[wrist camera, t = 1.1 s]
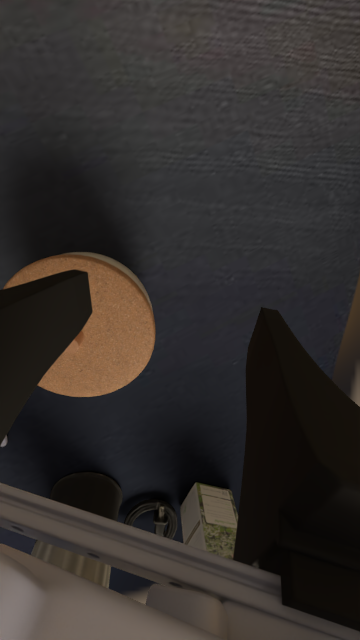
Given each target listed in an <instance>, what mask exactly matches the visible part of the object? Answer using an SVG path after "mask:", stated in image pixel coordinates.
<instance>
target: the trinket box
mask: <svg viewBox="0 0 360 640" xmlns="http://www.w3.org/2000/svg"><path fill="white" fill-rule="evenodd" d="M73 269H76V270H81V271H85V272H88V278H89V286H90V294H91V302H92V310H93V312H92V314H91V316H90V318H89V319H88V321H87V323H86V324H85V326H84V327H83V329H82V330H81V332H80V333H79V334H78V335H77V337H76V338H75V339H74V340H73V341H72V343H71V344H70V345H69V346H68V347H67V348H66V350H65V351H64V352H63V353H62V354H61V355H60V357H59V358H58V359H57V360H56V361H55V363H54V364H53V365H52V366H51V367H50V368H49V370H48V371H47V372H46V374H45V375H44V376H43V378H42V379H41V381H40V382H39V384H38V386H40V387H42V388H44V389H46V390H49V391H52V392H54V393H57V394H62V395H67V396H74V397H91V396H99V395H103V394H107V393H110V392H113V391H115V390H117V389H120V388H122V387H123V386H125V385H127V384H128V383H130V382H131V381H132V380H133V379H135V378H136V377H137V376H138V375H139V374H140V373H141V371H142V370H143V369H144V368H145V366H146V364H147V363H148V361H149V359H150V357H151V354H152V351H153V348H154V342H155V322H154V316H153V311H152V305H151V302H150V299H149V296H148V294H147V292H146V290H145V288H144V286H143V284H142V283H141V282H140V280H139V279H138V278H137V276H136V275H135V274H134V273H133V272H132V271H131V270H130V269H128V268H127V267H126V266H124V265H123V264H122V263H120V262H118V261H116V260H114V259H112V258H110V257H107V256H104V255H101V254H97V253H91V252H71V253H64V254H60V255H56V256H51V257H47V258H44V259H41V260H38V261H36V262H34V263H32V264H30V265H28V266H26V267H24V268H23V269H21V270H20V271H19V272H17V273H16V274H15V275H14V276H13V277H12V278H11V279H10V280H9V281H8V282H7V283H6V285H5V287H4V288H3V289H6V288H10V287H13V286H17V285H20V284H24V283H27V282H30V281H34V280H37V279H40V278H43V277H47V276H50V275H53V274H56V273H60V272H64V271H68V270H73Z"/></svg>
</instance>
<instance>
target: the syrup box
mask: <svg viewBox="0 0 360 640" xmlns="http://www.w3.org/2000/svg"><path fill="white" fill-rule="evenodd" d="M180 511H181V521H182V529H183V540H184V544H186V545H189V546H192V547H195V548H198V549H201V550H204V551H207V552H210V553H213V554H216V555H219V556H222V557H225V558H228V559H231V560H233V555H234V547H235V539H236V531H237V523H238V514H237V511H236V507H235V504H234V499H233V496H232V492H231V490H229V489H225V488H220V487H215V486H211V485H206V484H202V483H197V482H196V483H195V484H194V486H193V487H192V488H191V490H190V492H189V493H188V495H187V497H186V498H185V500H184V502H183V503H182V505H181V508H180Z"/></svg>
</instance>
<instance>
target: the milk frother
mask: <svg viewBox="0 0 360 640" xmlns="http://www.w3.org/2000/svg"><path fill="white" fill-rule="evenodd" d="M50 500H53V501H56V502H59V503H62V504H65V505H68V506H71V507H74V508H78V509H81V510H84V511H87V512H90V513H93V514H96V515H99V516H102V517H105V518H108V519H111V520H114V521H117V518H118V512H119V507H120V505H121V502H122V491H121V489H120V487H119V485H118V484H117V483H116V482H115V481H114V480H113V479H111V478H109V477H108V476H105V475H103V474H99V473H94V472H79V473H74V474H71V475H68V476H65V477H64V478H62V479H60V480H59V481H58V482H57V483H56V484H55V485H54V487H53V489H52V491H51V495H50ZM148 510H155V511H154V519H153V522H154V524H155V534H156V535H159V536H162V537H165V538H168V539H172V538H173V536H174V535H175V532H176V529H177V515H176V512H175V510H174V508H173V507H172V506H171V505H170V504H168V503H167V502H165V501H162V500H155V499H152V500H145V501H141V502H139V503H138V504H136V505H135V506H134V507H133V508H132V509H131V510H130V511H129V513H128V514H127V517H126V519H125V522H124V524H126V525H129V526H132V524H133V522H134V520H135V519H136V518H137V517H138V516H139V515H140V514H142V513H143V512H145V511H148ZM167 522H168V526H167V530H166V532H165V525H166V524H167ZM31 556H33V557H36V558H38V559H40V560H43V561H45V562H48V563H50V564H52V565H55V566H57V567H59V568H62V569H64V570H66V571H69V572H71V573H73V574H76V575H78V576H80V577H83V578H85V579H87V580H89V581H92V582H94V583H96V584H99V585H101V586H103V587H106V588H108V585H109V578H110V569H111V566H110V565H107V564H104V563H101V562H98V561H96V560H93V559H90V558H87V557H84V556H82V555H79V554H76V553H73V552H70V551H68V550H65V549H62V548H59V547H56V546H54V545H51V544H48V543H45V542H42V541H40V540H37V539H36V542H35V546H34V548H33V550H32V553H31Z"/></svg>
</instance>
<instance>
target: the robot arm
mask: <svg viewBox="0 0 360 640" xmlns="http://www.w3.org/2000/svg"><path fill="white" fill-rule="evenodd" d="M92 312H93V310H92V302H91V294H90V286H89V278H88V272H85V271H81V270H76V269H73V270H68V271H64V272H60V273H56V274H53V275H50V276H47V277H43V278H40V279H37V280H34V281H30V282H27V283H24V284H20V285H17V286H13V287H10V288H6V289H3V290H0V446H5V445H6V444H7V442H8V441H7V433H8V431H9V430H10V428H11V426H12V425H13V423H14V421H15V419H16V418H17V416H18V414H19V413H20V411H21V410H22V408H23V406H24V405H25V403H26V402H27V400H28V398H29V397H30V395H31V394H32V392H33V391H34V389H35V388H36V386H37V385H38V384H39V382H40V381H41V379H42V378H43V376H44V375H45V374H46V372H47V371H48V370H49V368H50V367H51V366H52V365H53V364H54V363H55V361H56V360H57V359H58V358H59V357H60V355H61V354H62V353H63V352H64V351H65V350H66V348H67V347H68V346H69V345H70V344H71V343H72V341H73V340H74V339H75V338H76V337H77V335H78V334H79V333H80V332H81V330H82V329H83V327H84V326H85V324H86V323H87V321H88V319H89V318H90V316H91V314H92ZM246 402H247V432H246V444H245V456H244V466H243V477H242V487H241V496H240V505H239V514H238V523H237V531H236V539H235V547H234V555H233V560H231V559H228V558H225V557H222V556H219V555H216V554H213V553H210V552H207V551H204V550H201V549H198V548H195V547H192V546H189V545H186V544H183V543H180V542H177V541H174V540H171V539H168V538H165V537H162V536H159V535H156V534H153V533H150V532H147V531H144V530H141V529H138V528H135V527H132V526H129V525H126V524H123V523H120V522H117V521H114V520H111V519H108V518H105V517H102V516H99V515H96V514H93V513H90V512H87V511H84V510H81V509H78V508H74V507H71V506H68V505H65V504H62V503H59V502H56V501H53V500H50V499H47V498H44V497H41V496H38V495H35V494H32V493H29V492H26V491H23V490H20V489H17V488H14V487H11V486H8V485H5V484H2V483H0V527H3V528H6V529H9V530H11V531H14V532H17V533H20V534H23V535H25V536H28V537H31V538H34V539H37V540H40V541H42V542H45V543H48V544H51V545H54V546H56V547H59V548H62V549H65V550H68V551H70V552H73V553H76V554H79V555H82V556H84V557H87V558H90V559H93V560H96V561H98V562H101V563H104V564H107V565H110V566H113V567H115V568H118V569H121V570H124V571H127V572H130V573H132V574H135V575H138V576H141V577H144V578H146V579H149V580H152V581H155V582H157V583H160V584H163V585H166V586H163V585H158V584H153V585H152V586H151V587H150V588H149V592H148V597H147V601H146V605H145V604H142V603H140V602H138V601H136V600H133V599H131V598H129V597H126V596H124V595H122V594H119V593H117V592H115V591H113V590H110V589H108V588H106V587H103V586H101V585H99V584H96V583H94V582H92V581H89V580H87V579H85V578H83V577H80V576H78V575H76V574H73V573H71V572H69V571H66V570H64V569H62V568H59V567H57V566H55V565H52V564H50V563H48V562H45V561H43V560H40V559H38V558H36V557H33V556H31V555H29V554H26V553H24V552H21V551H19V550H16V549H14V548H11V547H9V546H6V545H4V544H1V543H0V640H360V407H359V406H358V405H357V404H355V402H353V401H352V400H351V399H350V398H349V397H348V396H347V395H346V394H345V393H344V392H343V391H341V390H340V389H339V388H338V386H336V384H334V382H333V381H332V380H331V379H330V378H329V377H328V376H327V375H326V374H325V373H324V372H323V371H322V370H321V369H320V368H319V366H318V365H317V364H316V363H315V362H314V360H313V359H312V358H311V357H310V356H309V354H308V353H307V352H306V351H305V349H304V348H303V347H302V345H301V344H300V343H299V341H298V340H297V338H296V337H295V336H294V334H293V333H292V331H291V330H290V328H289V327H288V325H287V324H286V322H285V321H284V319H283V318H282V316H281V315H280V313H279V312H278V311H277V310H272V309H267V308H262V307H261V310H260V313H259V316H258V319H257V322H256V325H255V328H254V331H253V334H252V337H251V340H250V343H249V346H248V353H247V362H246Z"/></svg>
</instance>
